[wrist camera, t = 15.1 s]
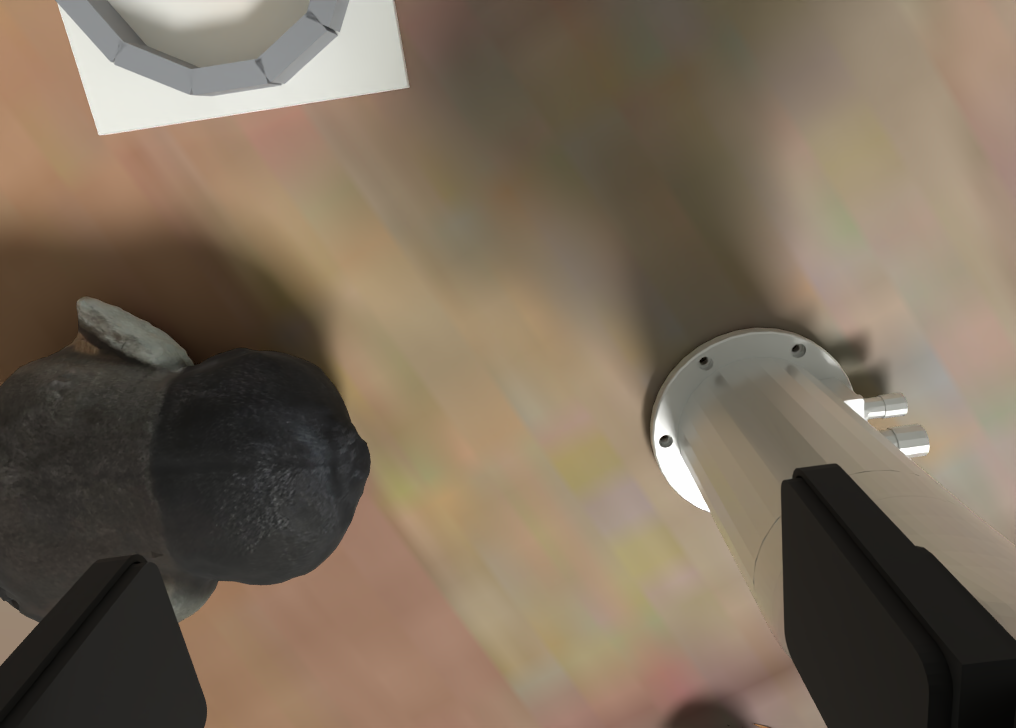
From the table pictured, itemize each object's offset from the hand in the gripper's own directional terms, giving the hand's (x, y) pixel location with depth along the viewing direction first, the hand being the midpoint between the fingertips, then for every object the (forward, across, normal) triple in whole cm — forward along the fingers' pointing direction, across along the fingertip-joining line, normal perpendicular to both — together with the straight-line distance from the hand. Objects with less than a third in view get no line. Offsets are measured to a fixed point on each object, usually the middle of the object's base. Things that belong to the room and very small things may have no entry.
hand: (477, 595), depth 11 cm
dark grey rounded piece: (+34, +20, +10) cm, 40 cm away
